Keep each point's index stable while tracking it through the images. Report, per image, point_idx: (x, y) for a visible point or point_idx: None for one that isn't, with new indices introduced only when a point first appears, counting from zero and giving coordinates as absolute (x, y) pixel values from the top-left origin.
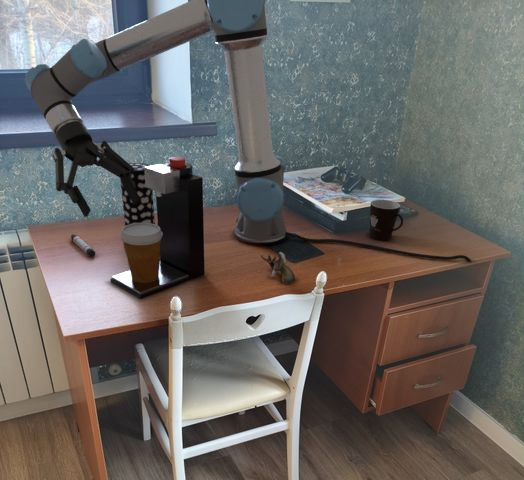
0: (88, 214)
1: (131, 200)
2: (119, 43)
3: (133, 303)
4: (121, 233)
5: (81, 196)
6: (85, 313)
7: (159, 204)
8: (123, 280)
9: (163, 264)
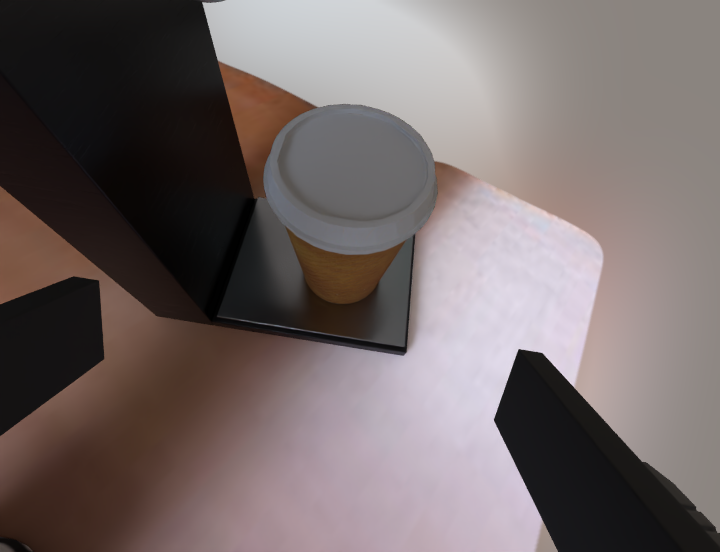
0: (501, 398)
1: (74, 380)
2: None
3: (436, 232)
4: (418, 218)
5: (608, 442)
6: (543, 278)
7: (107, 156)
8: (398, 299)
9: (237, 285)
